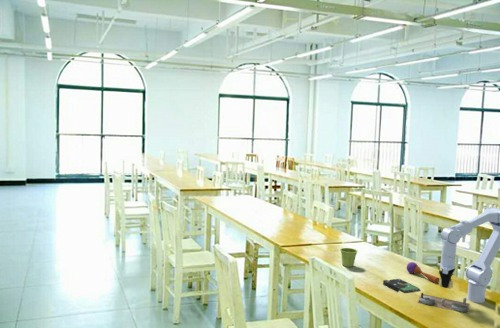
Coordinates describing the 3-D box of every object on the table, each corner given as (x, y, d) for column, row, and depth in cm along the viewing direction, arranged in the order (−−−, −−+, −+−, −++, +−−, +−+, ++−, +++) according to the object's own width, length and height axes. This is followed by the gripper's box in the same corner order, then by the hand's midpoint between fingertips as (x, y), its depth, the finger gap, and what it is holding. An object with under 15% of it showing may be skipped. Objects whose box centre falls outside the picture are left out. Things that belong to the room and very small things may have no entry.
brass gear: (439, 283, 211) (440, 276, 211) (453, 285, 209) (453, 279, 208) (438, 286, 206) (438, 280, 206) (451, 289, 204) (452, 282, 203)
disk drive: (382, 285, 230) (403, 296, 216) (382, 280, 230) (404, 290, 216) (398, 283, 234) (420, 293, 221) (399, 278, 234) (421, 288, 221)
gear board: (422, 296, 216) (422, 286, 216) (469, 306, 207) (470, 296, 206) (417, 305, 205) (418, 295, 204) (467, 316, 195) (468, 305, 195)
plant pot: (356, 269, 253) (357, 253, 252) (339, 267, 255) (340, 251, 254) (356, 264, 262) (357, 248, 261) (339, 262, 264) (340, 247, 263)
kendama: (432, 276, 234) (404, 262, 251) (432, 287, 235) (404, 272, 253) (441, 273, 236) (412, 259, 254) (441, 284, 237) (412, 269, 255)
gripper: (440, 250, 214) (438, 279, 216) (436, 257, 202) (433, 288, 203) (457, 253, 211) (454, 282, 212) (454, 260, 198) (451, 291, 200)
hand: (445, 285), depth 207 cm, fingers closed on brass gear, 6 cm apart
